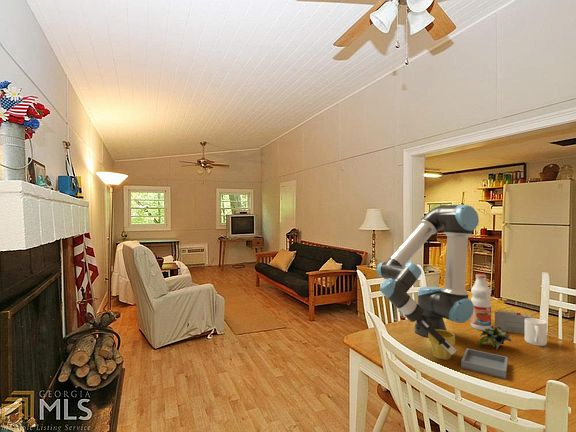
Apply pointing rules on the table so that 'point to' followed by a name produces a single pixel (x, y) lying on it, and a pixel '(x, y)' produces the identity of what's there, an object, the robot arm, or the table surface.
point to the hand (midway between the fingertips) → (448, 347)
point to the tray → (485, 363)
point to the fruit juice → (481, 304)
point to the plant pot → (439, 349)
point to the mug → (535, 331)
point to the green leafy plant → (494, 336)
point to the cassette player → (511, 321)
